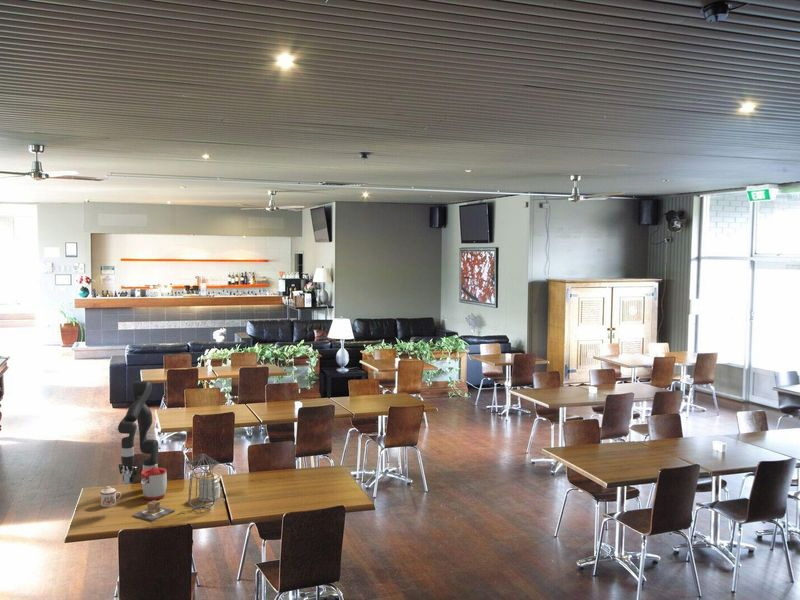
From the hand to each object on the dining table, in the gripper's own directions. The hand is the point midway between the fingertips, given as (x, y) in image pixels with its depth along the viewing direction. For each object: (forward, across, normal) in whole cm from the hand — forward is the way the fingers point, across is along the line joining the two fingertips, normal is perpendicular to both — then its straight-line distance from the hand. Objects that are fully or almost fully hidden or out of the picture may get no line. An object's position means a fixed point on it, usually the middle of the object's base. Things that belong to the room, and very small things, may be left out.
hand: (128, 481), depth 445 cm
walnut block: (+16, -19, -2) cm, 25 cm away
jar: (+18, -29, -39) cm, 52 cm away
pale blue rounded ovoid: (+1, 0, 0) cm, 1 cm away
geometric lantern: (+17, -39, -22) cm, 48 cm away
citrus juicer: (+17, +2, -22) cm, 28 cm away
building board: (+17, -19, -2) cm, 26 cm away
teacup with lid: (+17, +15, 0) cm, 23 cm away
